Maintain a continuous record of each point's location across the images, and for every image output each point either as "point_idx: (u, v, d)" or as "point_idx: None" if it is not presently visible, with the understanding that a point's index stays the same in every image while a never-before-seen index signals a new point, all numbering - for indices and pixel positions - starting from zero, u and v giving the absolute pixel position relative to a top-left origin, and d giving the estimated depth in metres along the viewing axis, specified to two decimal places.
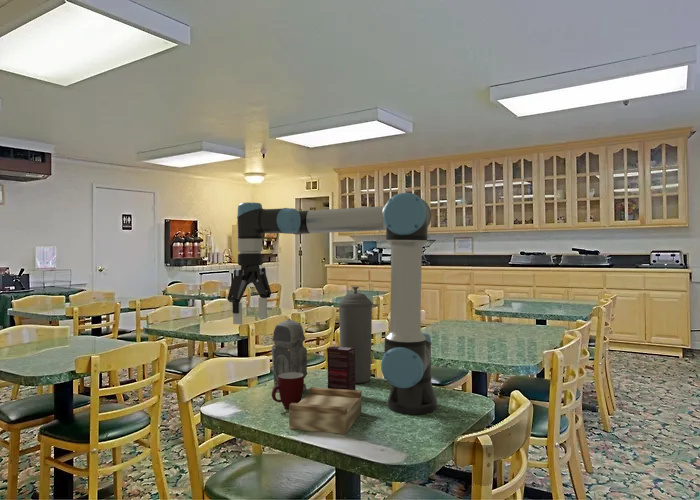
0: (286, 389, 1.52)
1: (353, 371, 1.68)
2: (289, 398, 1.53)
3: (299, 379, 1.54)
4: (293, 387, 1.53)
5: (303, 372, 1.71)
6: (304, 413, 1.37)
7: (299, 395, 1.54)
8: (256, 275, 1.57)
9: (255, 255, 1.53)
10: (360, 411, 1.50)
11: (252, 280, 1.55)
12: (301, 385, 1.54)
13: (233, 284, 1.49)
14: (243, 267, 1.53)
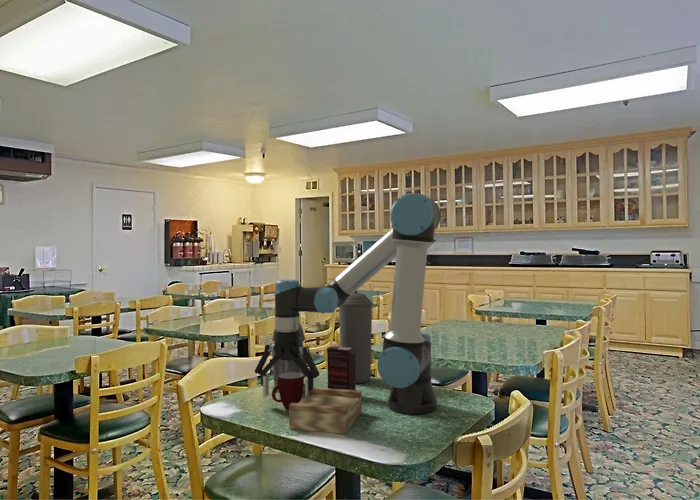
0: (286, 389, 1.52)
1: (353, 371, 1.68)
2: (289, 398, 1.53)
3: (299, 379, 1.54)
4: (293, 387, 1.53)
5: None
6: (304, 413, 1.37)
7: (299, 395, 1.54)
8: None
9: (277, 334, 1.53)
10: (360, 411, 1.50)
11: (284, 358, 1.55)
12: (301, 385, 1.54)
13: None
14: None
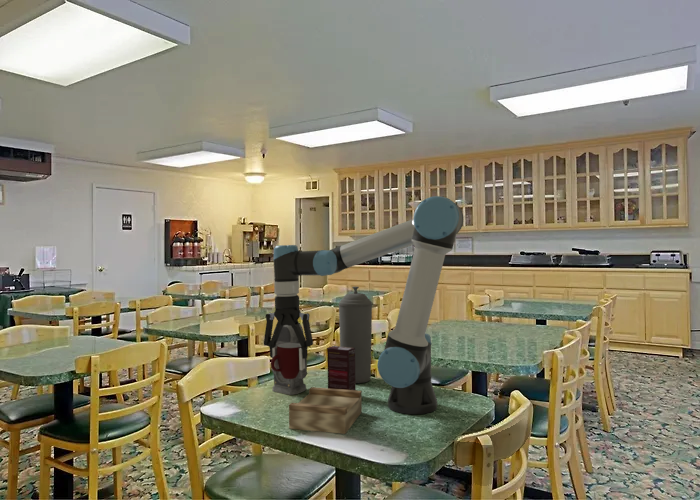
0: (285, 358, 1.52)
1: (353, 371, 1.68)
2: (288, 367, 1.53)
3: (298, 349, 1.54)
4: (292, 356, 1.53)
5: (303, 372, 1.71)
6: (304, 413, 1.37)
7: (298, 365, 1.54)
8: None
9: (277, 298, 1.53)
10: (360, 411, 1.50)
11: (285, 323, 1.54)
12: None
13: None
14: None
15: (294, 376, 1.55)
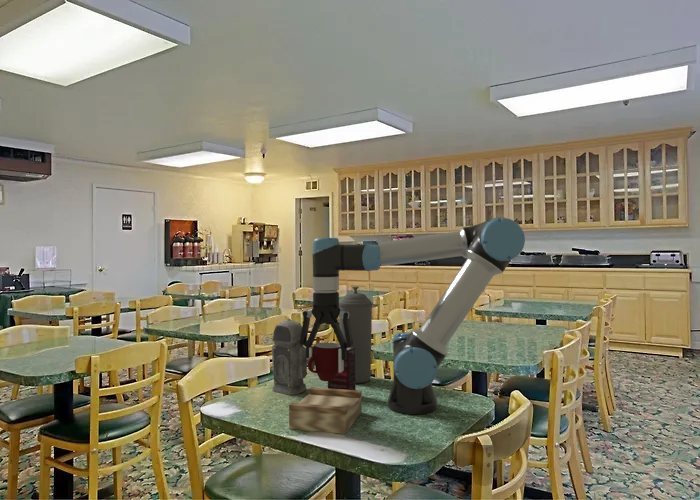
0: (323, 359, 1.42)
1: (353, 371, 1.68)
2: (326, 369, 1.42)
3: (337, 349, 1.43)
4: (331, 357, 1.42)
5: (303, 372, 1.71)
6: (304, 413, 1.37)
7: (336, 366, 1.44)
8: None
9: (316, 295, 1.42)
10: (360, 411, 1.50)
11: (323, 321, 1.44)
12: None
13: None
14: None
15: (332, 378, 1.44)
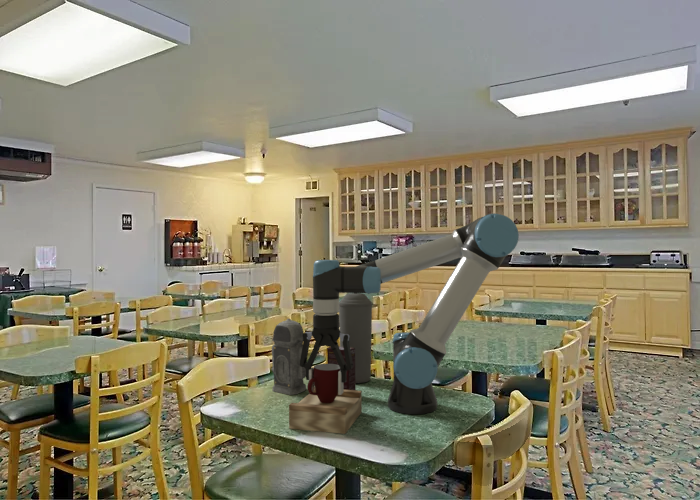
0: (323, 381, 1.42)
1: (353, 371, 1.68)
2: (326, 391, 1.42)
3: (337, 371, 1.43)
4: (331, 379, 1.42)
5: (303, 372, 1.71)
6: (304, 413, 1.37)
7: (336, 388, 1.44)
8: None
9: (316, 317, 1.42)
10: (360, 411, 1.50)
11: (323, 343, 1.44)
12: None
13: None
14: None
15: (332, 400, 1.44)
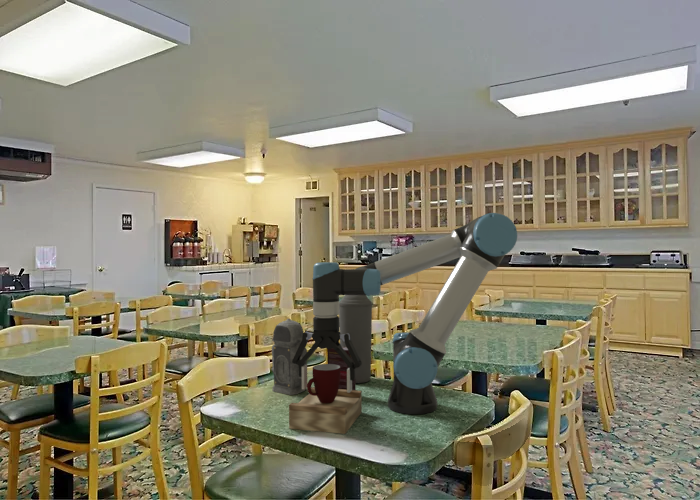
0: (322, 381, 1.42)
1: None
2: (326, 391, 1.42)
3: (336, 371, 1.43)
4: (330, 379, 1.42)
5: None
6: (304, 413, 1.37)
7: (336, 388, 1.44)
8: None
9: (316, 320, 1.42)
10: (360, 411, 1.50)
11: (323, 346, 1.44)
12: (338, 377, 1.44)
13: None
14: None
15: (332, 400, 1.44)
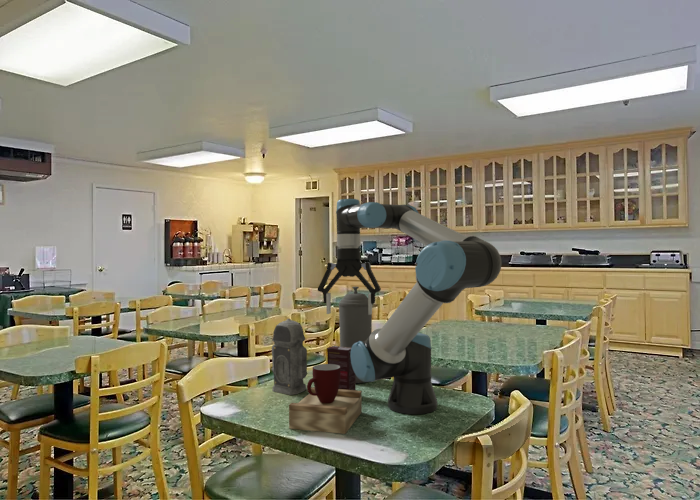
0: (322, 381, 1.42)
1: (353, 371, 1.68)
2: (326, 391, 1.42)
3: (336, 371, 1.43)
4: (330, 379, 1.42)
5: (303, 372, 1.71)
6: (304, 413, 1.37)
7: (336, 388, 1.44)
8: (351, 269, 1.60)
9: (340, 250, 1.58)
10: (360, 411, 1.50)
11: (346, 274, 1.60)
12: (338, 377, 1.44)
13: None
14: None
15: (332, 400, 1.44)
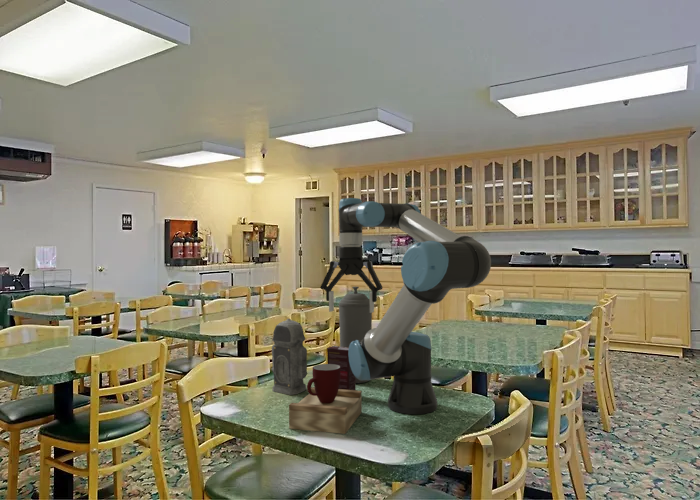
0: (322, 381, 1.42)
1: None
2: (326, 391, 1.42)
3: (336, 371, 1.43)
4: (330, 379, 1.42)
5: (303, 372, 1.71)
6: (304, 413, 1.37)
7: (336, 388, 1.44)
8: (352, 268, 1.61)
9: (342, 248, 1.61)
10: (360, 411, 1.50)
11: (348, 272, 1.62)
12: (338, 377, 1.44)
13: None
14: None
15: (332, 400, 1.44)
